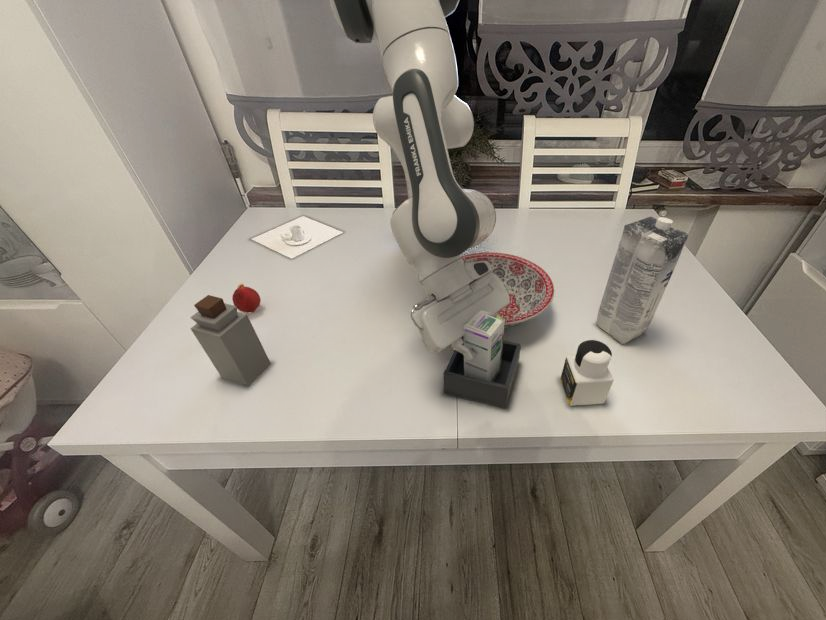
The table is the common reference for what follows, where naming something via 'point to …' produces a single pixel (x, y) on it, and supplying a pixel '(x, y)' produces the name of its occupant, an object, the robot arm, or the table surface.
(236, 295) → the onion
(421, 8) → the robot arm
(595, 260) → the table surface
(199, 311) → the perfume bottle
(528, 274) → the ceramic bowl
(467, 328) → the syrup box
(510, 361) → the bin
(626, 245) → the juice carton
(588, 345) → the medicine bottle
